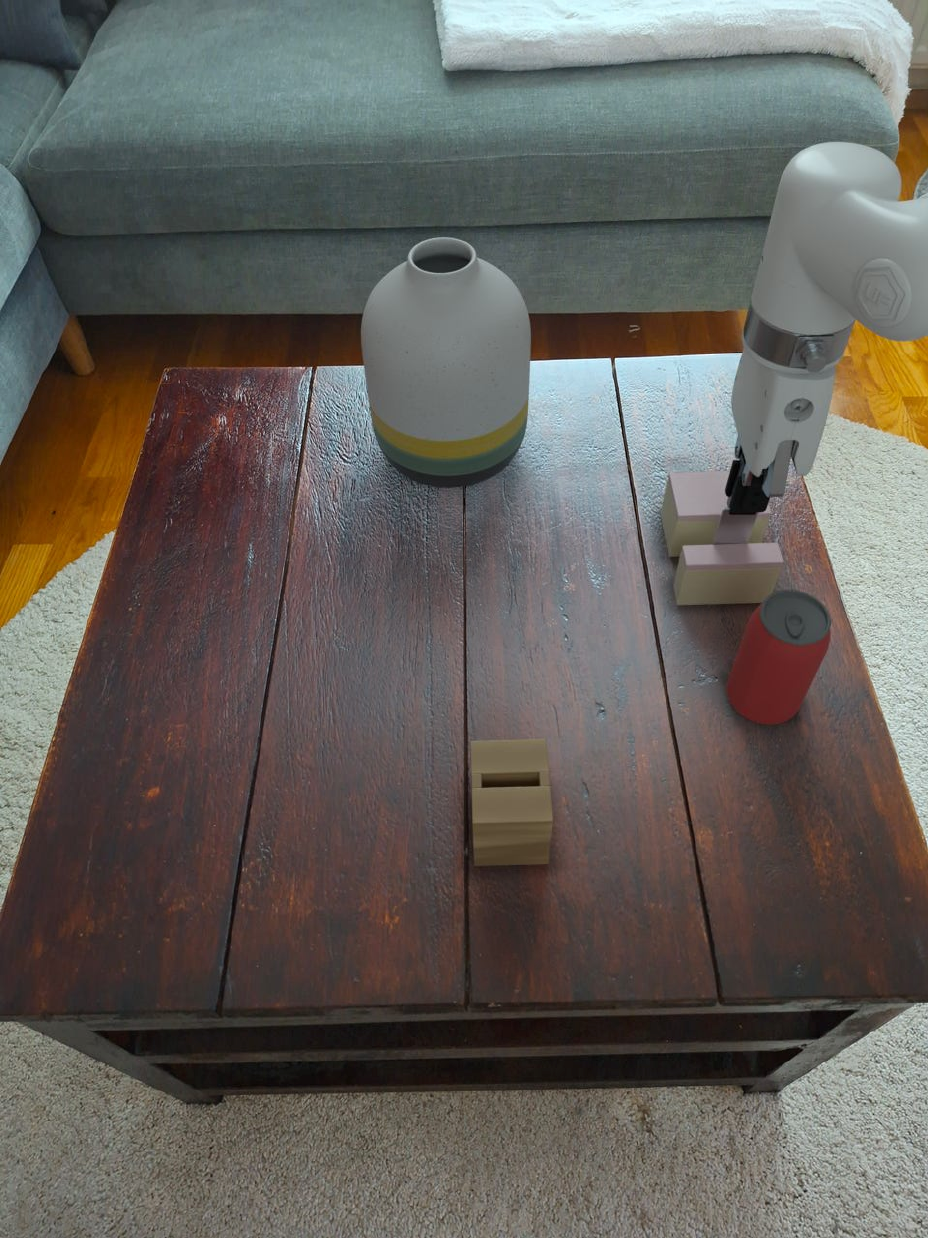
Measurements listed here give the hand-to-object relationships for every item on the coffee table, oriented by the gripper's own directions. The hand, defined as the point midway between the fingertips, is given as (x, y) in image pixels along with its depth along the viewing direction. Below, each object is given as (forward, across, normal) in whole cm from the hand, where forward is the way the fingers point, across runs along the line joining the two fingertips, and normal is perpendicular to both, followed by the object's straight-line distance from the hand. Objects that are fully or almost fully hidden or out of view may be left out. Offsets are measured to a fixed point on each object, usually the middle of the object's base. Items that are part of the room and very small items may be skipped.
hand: (744, 501), depth 84 cm
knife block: (+11, -25, +22) cm, 35 cm away
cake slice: (+11, -1, 0) cm, 12 cm away
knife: (+11, 0, 0) cm, 11 cm away
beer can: (+12, -13, -1) cm, 18 cm away
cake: (+11, +7, 0) cm, 13 cm away
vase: (+12, +20, +26) cm, 35 cm away
